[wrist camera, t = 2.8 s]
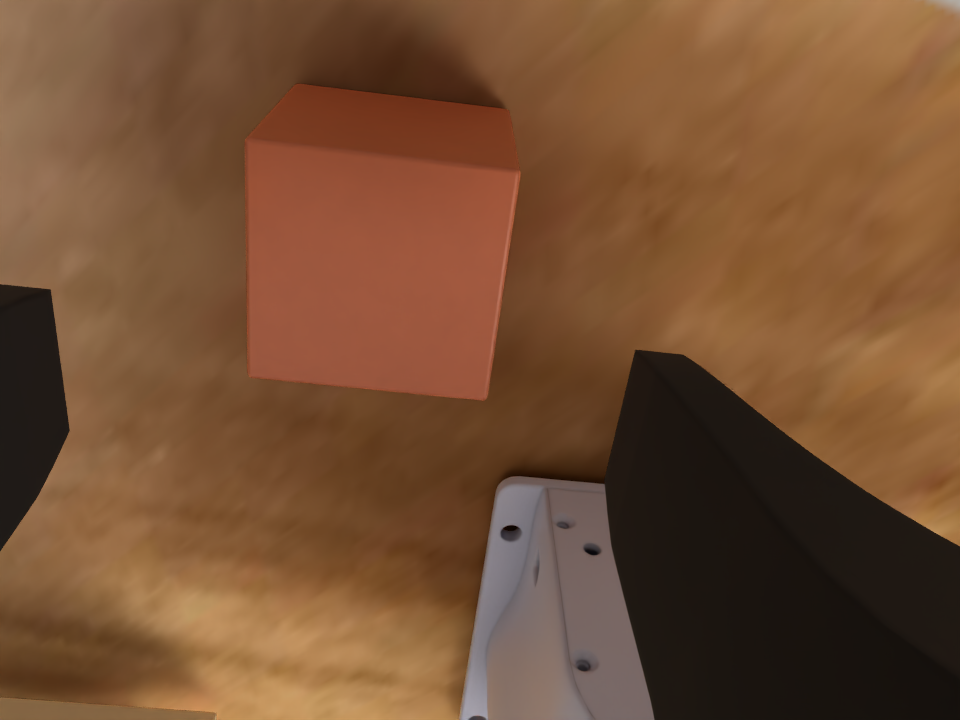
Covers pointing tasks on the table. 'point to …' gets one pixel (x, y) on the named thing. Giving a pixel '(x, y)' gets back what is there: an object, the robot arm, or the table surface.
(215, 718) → the drawer
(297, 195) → the block
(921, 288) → the table surface
